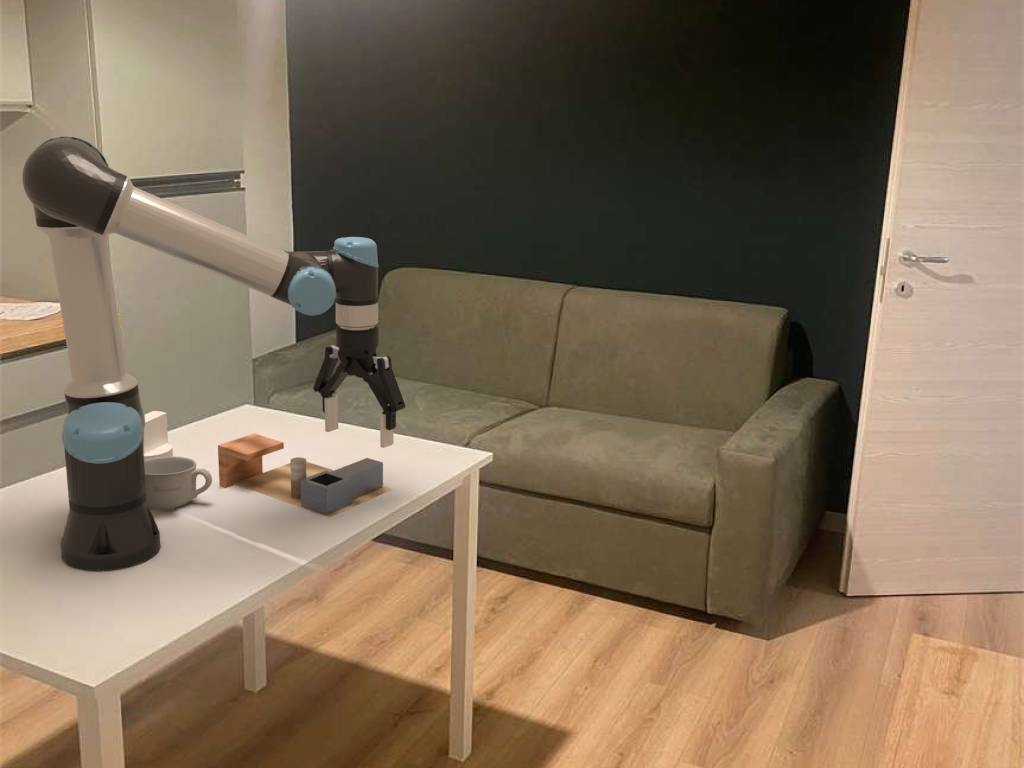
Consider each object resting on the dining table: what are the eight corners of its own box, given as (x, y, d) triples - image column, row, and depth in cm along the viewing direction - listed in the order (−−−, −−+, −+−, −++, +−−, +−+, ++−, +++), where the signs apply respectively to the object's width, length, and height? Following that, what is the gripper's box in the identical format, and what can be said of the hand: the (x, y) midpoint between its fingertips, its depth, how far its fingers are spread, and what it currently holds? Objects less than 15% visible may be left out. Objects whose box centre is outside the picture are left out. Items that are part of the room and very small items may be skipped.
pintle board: (325, 524, 185) (324, 480, 182) (219, 486, 199) (217, 445, 197) (392, 494, 199) (393, 453, 197) (289, 460, 214) (288, 422, 211)
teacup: (122, 510, 187) (119, 468, 185) (162, 490, 197) (159, 449, 194) (188, 524, 182) (186, 481, 180) (225, 502, 192) (223, 461, 190)
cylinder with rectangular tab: (154, 489, 197) (150, 428, 193) (114, 481, 199) (110, 421, 196) (183, 473, 205) (180, 414, 202) (144, 466, 208) (141, 408, 204)
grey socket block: (327, 515, 186) (326, 488, 184) (301, 506, 189) (300, 480, 188) (387, 488, 199) (387, 464, 197) (362, 480, 202) (362, 456, 201)
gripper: (425, 332, 184) (424, 446, 190) (321, 311, 197) (324, 419, 203) (396, 340, 178) (397, 458, 184) (292, 318, 191) (295, 428, 197)
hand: (358, 437), depth 194 cm, fingers open, 13 cm apart
